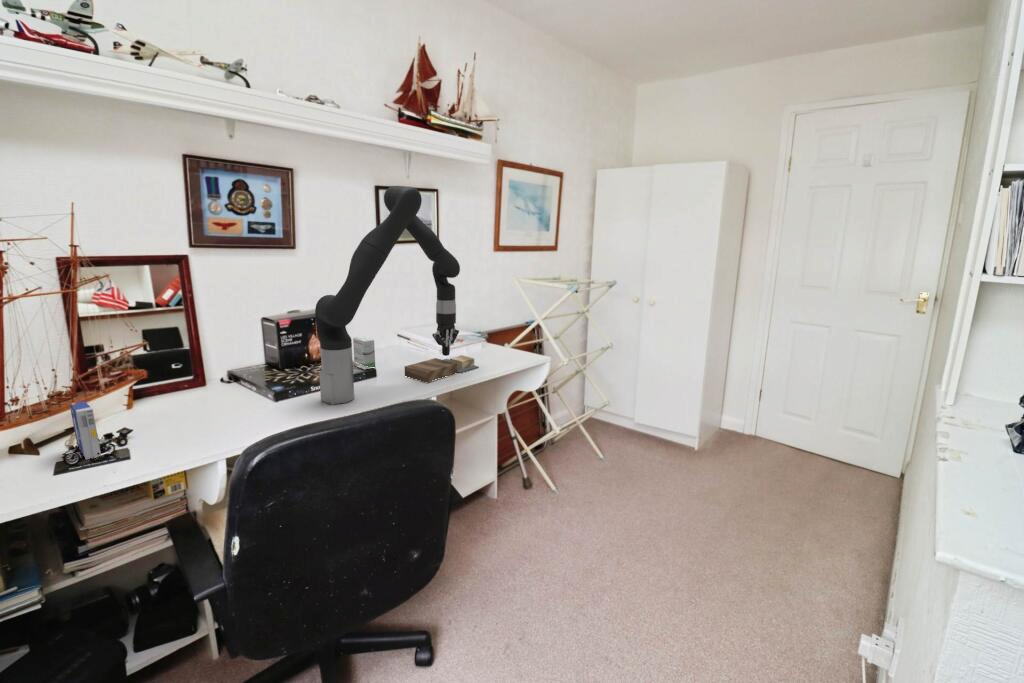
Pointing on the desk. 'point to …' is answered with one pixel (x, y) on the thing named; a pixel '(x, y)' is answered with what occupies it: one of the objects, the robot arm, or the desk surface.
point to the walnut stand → (431, 369)
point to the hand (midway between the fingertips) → (445, 355)
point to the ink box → (364, 351)
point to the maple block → (463, 361)
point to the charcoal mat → (464, 368)
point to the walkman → (85, 429)
